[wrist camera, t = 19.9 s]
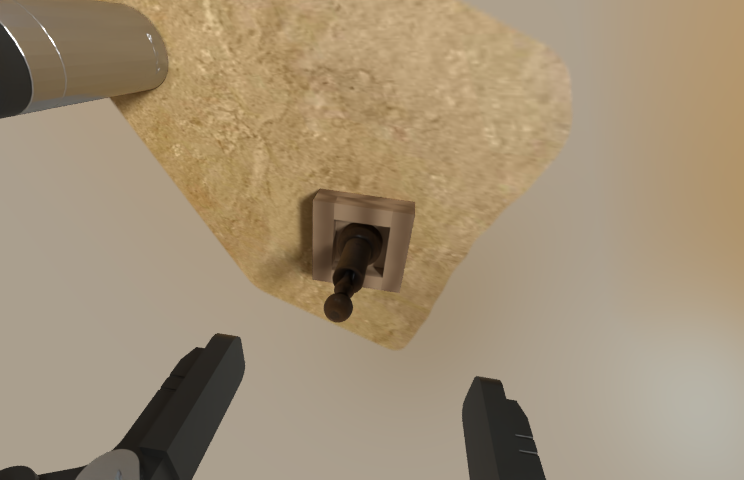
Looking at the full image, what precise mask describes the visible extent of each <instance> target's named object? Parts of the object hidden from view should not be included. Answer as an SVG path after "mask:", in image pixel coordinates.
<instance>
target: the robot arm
mask: <svg viewBox="0 0 744 480" xmlns="http://www.w3.org/2000/svg"><path fill="white" fill-rule="evenodd" d="M167 71H168V56H167V52H166V48H165V45H164V43H163V40H162V38H161V36H160V34H159V33H158V31H157V30H156V28H155V27H154V26H153V24H152V23H151V22H150V21H149V20H148V19H147V18H146V17H145V16H144V15H143V14H141V13H140V12H139V11H137V10H135V9H134V8H132V7H130V6H127V5H124V4H117V3H109V2H101V1H94V0H0V118H6V117H11V116H16V115H21V114H26V113H31V112H36V111H41V110H46V109H51V108H56V107H61V106H67V105H71V104H77V103H82V102H87V101H93V100H98V99H103V98H108V97H114V96H119V95H124V94H130V93H135V92H140V91H146V90H151V89H154V88H156V87H158V86H159V85H160V84H161V83H162V82H163V81H164V79H165V78H166V74H167ZM244 370H245V361H244V355H243V349H242V343H241V339H240V337H238V336H232V335H226V334H219V333H217V334H215V335H214V336H213V337H212V338H211V340H210V341H209V343H208V344H207V346H206V347H205V348H198V347H196V348H195V349H193V350H192V351H191V352H190V353H188V354H187V355H186V356H185V357H183V358H182V359H181V360H180V361H179V363H178V364H177V365H176V367H175V368H174V369H173V371H172V372H171V374H170V376H169V377H168V378H167V379H166V380H165V382H164V383H163V385H162V386H161V389H160V390H158V391H157V393H156V394H155V396H154V397H153V398H152V400H151V401H150V402H149V404H148V405H147V407H146V408H145V409H144V411H143V412H142V413H141V415H140V416H139V418H138V419H137V420H136V422H135V423H134V424H133V426H132V427H131V429H130V430H129V431H128V433H127V434H126V435H125V437H124V438H123V439H122V441H121V442H120V443H119V444H118V445H117V446H116V447H115V448H114V449H113V450H112V451H110V452H107V453H105V454H104V455H101V456H99V457H98V458H96V459H95V460H93V461H92V462H91V463H89V464H88V465H86V466H83V467H79V468H73V469H68V470H63V471H57V472H52V473H46V474H41V475H37V474H36V473H35V472H34V471H33V470H32V469H30V468H28V467H26V466H13V467H9V468H6V469H3V470H0V480H192V478H193V476H194V474H195V472H196V470H197V468H198V466H199V464H200V462H201V460H202V458H203V456H204V454H205V452H206V450H207V448H208V446H209V444H210V442H211V441H212V439H213V437H214V434H215V432H216V430H217V429H218V427H219V425H220V423H221V421H222V419H223V417H224V415H225V413H226V411H227V409H228V407H229V405H230V403H231V401H232V399H233V397H234V395H235V393H236V391H237V389H238V387H239V385H240V383H241V381H242V378H243V375H244ZM462 421H463V429H464V437H465V445H466V453H467V460H468V468H469V476H470V480H546V478H545V475H544V472H543V469H542V465H541V462H540V458H539V456H538V455H537V448H536V445H535V442H534V440H533V435H532V432H531V428H530V425H529V422H528V418H527V417H526V415H525V413H524V412H523V410H522V409H521V407H520V406H519V404H518V403H517V401H514V400H509V399H506V396H505V392H504V388H503V385H502V383H501V381H500V380H497V379H491V378H484V377H479V376H476V377H475V378H474V380H473V382H472V384H471V387H470V389H469V391H468V393H467V396H466V398H465V401H464V403H463V409H462Z"/></svg>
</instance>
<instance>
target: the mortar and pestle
mask: <svg viewBox="0 0 744 480" xmlns="http://www.w3.org/2000/svg"><path fill="white" fill-rule="evenodd" d="M382 245H383V240H382V236H381V234H380V232H379V231H378V230H377V229H376V228H375V227H374V226H372V225H369V224H362V223H352V224H350V225H348V226H346V227H345V228H344V229H343V231H342V232H341V234H340V237H339V239H338V242H337V250H338V253H339V255H340V260H339V262H338V264H337V267H336V269H335V271H334V273H333V276H332V280H333V284H334V286H335V288H334V292H335V294H332V295H331V296H329V297H328V298H327V300H326V301H325V304H324V312H325V315H326V316H327V318H328V319H329V320H331V321H333V322H343V321H345V320H346V319H348V318H349V316H350V315H351V313H352V310H353V305H352V301H351V299H350V298H351V297H352V296H353V294H354V293H356V292H358V291H359V290H360V289H361V288H362V286H363V283H364V279H365V275H366V271H367V267H368V265H371V264H372V263H374V262H375V261H376V260H377V259H378V258H379V256H380V254H381V250H382Z"/></svg>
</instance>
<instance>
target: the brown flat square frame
mask: <svg viewBox="0 0 744 480" xmlns="http://www.w3.org/2000/svg"><path fill="white" fill-rule="evenodd" d="M414 217H415V202H411V201H404V200H396V199H389V198H382V197H375V196H368V195H361V194H354V193H347V192H340V191H333V190H326V189H320V190H319V191H318V193H317V194H316V196H315V198H314V199H313V280H318V281H325V282H331V283H333V280H332V276H333V273H334V271H335V269H336V267H337V264H338V262H339V260H340V255H339V253H338V250H337V242H338V239H339V237H340V234H341V232H342V231H343V229H344V228H345V227H346V226H348V225H350V224H352V223H362V224H369V225H372V226H374V227H375V228H376V229H377V230H378V231H379V232H380V234H381V236H382V240H383V245H382V250H381V254H380V256H379V258H378V259H377V260H376V261H375V262H374V263H372V264H371V265H368V267H367V271H366V275H365V279H364V283H363V286H362V287H364V288H371V289H377V290H384V291H390V292H397V293H400V288H401V283H402V278H403V273H404V268H405V263H406V258H407V253H408V248H409V243H410V238H411V233H412V228H413V222H414Z"/></svg>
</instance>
